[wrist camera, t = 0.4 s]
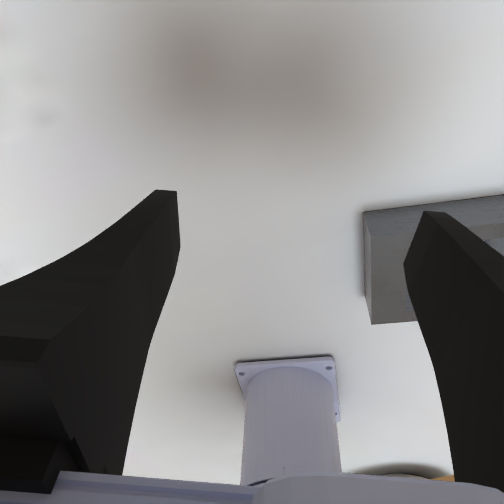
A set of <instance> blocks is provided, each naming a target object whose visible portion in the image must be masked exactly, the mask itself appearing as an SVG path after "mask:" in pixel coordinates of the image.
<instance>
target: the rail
mask: <svg viewBox="0 0 504 504" xmlns="http://www.w3.org/2000/svg"><path fill="white" fill-rule="evenodd" d="M423 211H436V212H445V213H447V214H449V215H450V216H452V217H453V218H455V219H456V220H457V221H459V222H460V223H461V224H463V225H464V226H465V227H467V228H468V229H469V230H470V231H472V232H473V233H474V234H476V235H477V236H478V237H479V238H481V239H482V240H486V241H485V242H486V243H487V244H488V245H490V246H491V247H492V248H494V249H495V250H496V251H498V252H499V253H500V254H502V255H503V256H504V195H498V196H490V197H482V198H474V199H466V200H458V201H450V202H442V203H434V204H426V205H418V206H410V207H402V208H394V209H386V210H378V211H370V212H363V215H364V260H365V298H366V302H367V307H368V311H369V316H370V320H371V325H373V324H385V323H398V322H410V321H418V320H417V317H416V315H415V312H414V309H413V306H412V303H411V300H410V297H409V294H408V289H407V284H406V279H405V273H404V267H403V262H404V260H405V257H406V255H407V252H408V250H409V247H410V245H411V242H412V239H413V237H414V234H415V232H416V229H417V227H418V224H419V222H420V219H421V216H422V214H423Z"/></svg>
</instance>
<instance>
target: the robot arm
mask: <svg viewBox="0 0 504 504" xmlns="http://www.w3.org/2000/svg"><path fill="white" fill-rule="evenodd" d="M179 251H180V232H179V218H178V203H177V191H168V190H155V191H153V192H152V193H151V194H150V195H149V196H147V197H146V198H145V199H144V200H143V201H141V202H140V203H139V204H138V205H137V206H135V207H134V208H133V209H132V210H131V211H129V212H128V213H127V214H126V215H124V216H123V217H122V218H121V219H119V220H118V221H117V222H116V223H114V224H113V225H111V226H110V227H109V228H107V229H106V230H104V231H103V232H102V233H100V234H99V235H97V236H96V237H95V238H93V239H92V240H90V241H89V242H87V243H86V244H84V245H83V246H81V247H79V248H78V249H76V250H74V251H73V252H71V253H69V254H67V255H66V256H64V257H62V258H60V259H58V260H56V261H55V262H52V263H50V264H48V265H46V266H44V267H42V268H40V269H38V270H36V271H34V272H32V273H29V274H27V275H25V276H23V277H21V278H19V279H16V280H14V281H11V282H9V283H6V284H4V285H1V286H0V504H504V256H503V255H502V254H500V253H499V252H498V251H496V250H495V249H494V248H492V247H491V246H490V245H488V244H487V243H486V242H485V241H483V240H482V239H481V238H479V237H478V236H477V235H476V234H474V233H473V232H472V231H470V230H469V229H468V228H467V227H465V226H464V225H463V224H461V223H460V222H459V221H457V220H456V219H455V218H453V217H452V216H450V215H449V214H447V213H445V212H436V211H423V214H422V216H421V219H420V222H419V224H418V227H417V229H416V232H415V234H414V237H413V239H412V242H411V245H410V247H409V250H408V252H407V255H406V257H405V260H404V262H403V267H404V273H405V279H406V284H407V289H408V294H409V297H410V300H411V303H412V306H413V309H414V312H415V315H416V317H417V320H418V323H419V326H420V329H421V332H422V334H423V337H424V340H425V343H426V346H427V349H428V351H429V354H430V357H431V361H432V364H433V367H434V371H435V375H436V380H437V384H438V388H439V393H440V397H441V402H442V407H443V412H444V417H445V423H446V428H447V433H448V439H449V445H450V452H451V458H452V464H453V470H454V478H455V482H450V481H438V480H426V479H413V478H401V477H388V476H376V475H364V474H351V473H342V470H341V461H340V452H339V443H338V434H337V425H336V422H339V421H340V419H341V418H340V409H339V399H338V390H337V380H336V370H335V361H334V359H333V358H332V357H316V358H301V359H287V360H273V361H259V362H245V363H237V364H235V367H234V371H235V373H236V376H237V379H238V381H239V384H240V387H241V390H242V392H243V395H244V398H245V400H246V409H245V423H244V437H243V452H242V466H241V481H240V485H232V484H220V483H208V482H195V481H183V480H170V479H158V478H146V477H133V476H122V473H123V468H124V462H125V457H126V452H127V446H128V441H129V436H130V431H131V426H132V421H133V417H134V412H135V407H136V402H137V398H138V393H139V389H140V384H141V380H142V375H143V371H144V367H145V363H146V359H147V355H148V350H149V346H150V343H151V340H152V337H153V334H154V331H155V328H156V325H157V322H158V320H159V317H160V314H161V311H162V309H163V306H164V303H165V300H166V297H167V295H168V292H169V289H170V286H171V283H172V280H173V278H174V275H175V270H176V266H177V261H178V256H179Z"/></svg>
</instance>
